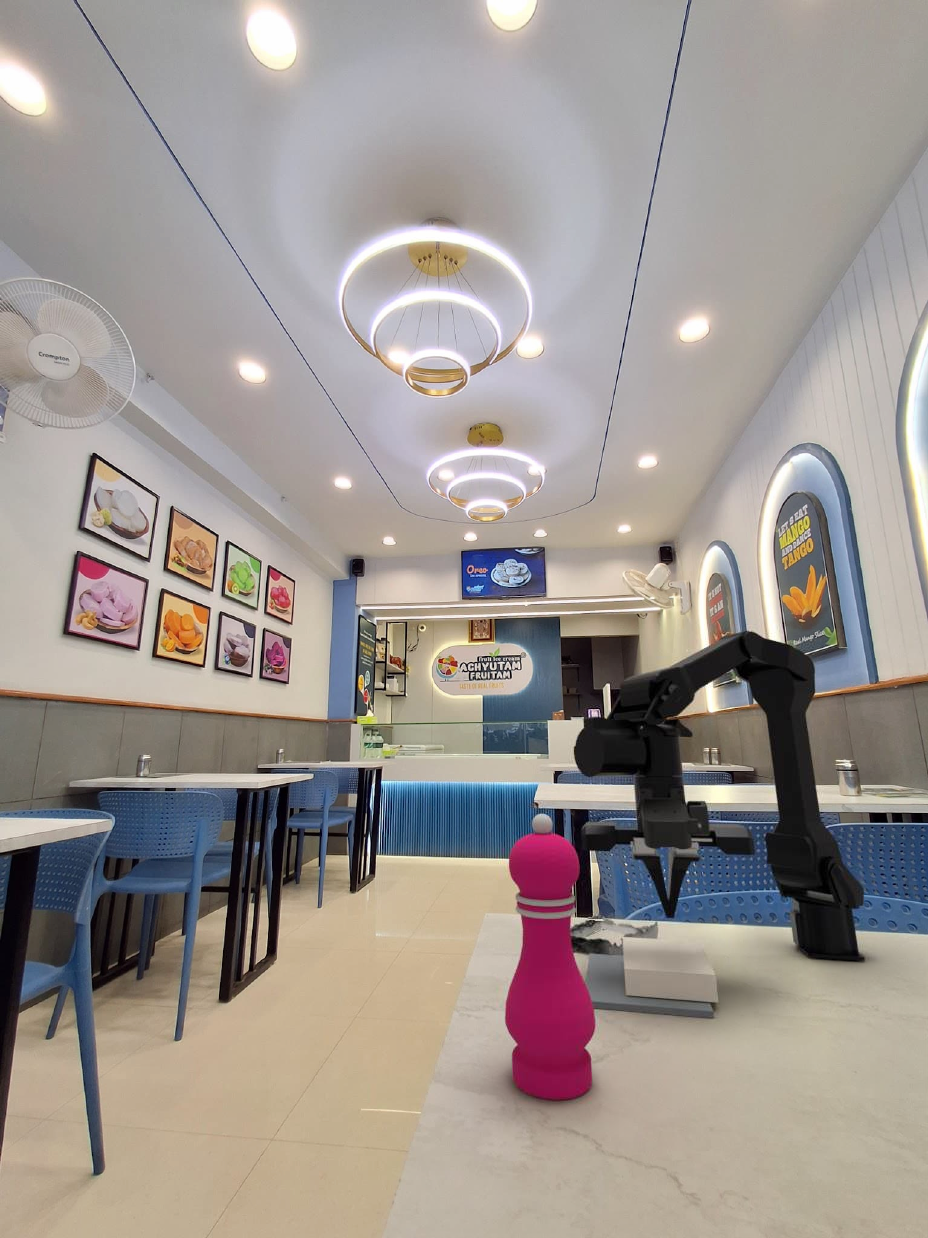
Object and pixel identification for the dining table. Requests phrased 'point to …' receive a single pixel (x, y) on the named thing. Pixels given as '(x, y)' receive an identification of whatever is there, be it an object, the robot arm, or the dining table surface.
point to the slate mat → (611, 994)
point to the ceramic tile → (668, 970)
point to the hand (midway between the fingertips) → (669, 917)
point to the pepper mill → (548, 972)
